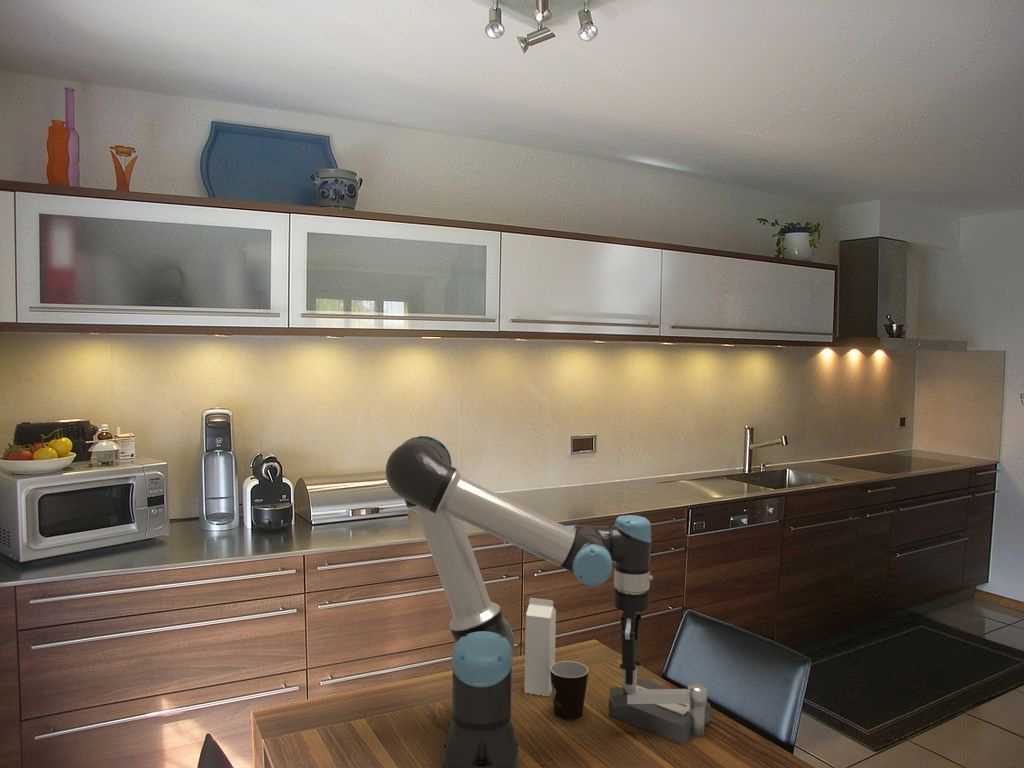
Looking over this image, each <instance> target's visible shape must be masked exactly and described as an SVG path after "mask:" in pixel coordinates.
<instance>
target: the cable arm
mask: <svg viewBox="0 0 1024 768" xmlns="http://www.w3.org/2000/svg"><path fill="white" fill-rule="evenodd" d="M609 697H610V700H611V703H612V705H613V707H624V706H627V704H690V703H691V704H694V705H705V704H706V703H708V687H707V685H705V684H704V683H700V682H690V683H689V684H687V688H668V689H627V690H625V689H624V687H623V686H622V687H621V686H620V687H618V686H616V687H611V686H610V687H609Z"/></svg>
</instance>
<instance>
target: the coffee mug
mask: <svg viewBox="0 0 1024 768" xmlns="http://www.w3.org/2000/svg"><path fill="white" fill-rule="evenodd" d="M550 674H551V685H552V691H551V693H552V694H551V695H552V704H553V705H552V706H553V712H554V715H555V716H556V717H557V718H558V719H562V720H565V721H574V720H578V719H580V718H582V716H583V713H584V707H585V700H586V691H587V683H588V677H589V668H588V666H587V665H585V664H583V663H581V662H577V661H574V660H573V661H572V660H562V661H557V662H556V661H555V663H554V664H552V665H551V667H550Z"/></svg>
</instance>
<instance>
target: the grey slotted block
mask: <svg viewBox="0 0 1024 768" xmlns="http://www.w3.org/2000/svg"><path fill="white" fill-rule="evenodd" d="M636 689H669V688H667V687H665V686H662V685H659V684H656V683H654V682H651V681H648V680H645V679H642V678H637V683H636ZM608 716H609V717H612V718H614V719H617V720H620V721H622V722H625V723H626V724H629V725H632V726H634V727H637V728H639V729H642V730H644V731H647V732H648V733H651V734H654V735H657V736H659V737H661V738H664V739H665V740H668V739H669V741H671V742H674V743H676V744H679V745H684V744H685V743H686V742H687V741H688V740H690V739H691V738H692V737H696V736H701V737H703V736H704V735H705V726H706V725H707V724H709V723H710V722H711V703H709V702H707V703H706V704H705V705H694V704H691V703H690V704H627V706H624V707H613V705H612V703H611V700H610V696H609V697H608ZM708 722H709V723H708ZM692 735H694V736H692ZM702 735H703V736H702ZM691 736H692V737H691ZM690 737H691V738H690Z"/></svg>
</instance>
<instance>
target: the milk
mask: <svg viewBox="0 0 1024 768" xmlns="http://www.w3.org/2000/svg"><path fill="white" fill-rule="evenodd" d="M528 599H529V600H528V603H529V604H528V607H527V610H526V613H525V641H524V642H525V645H524V647H525V648H524V651H525V652H524V653H525V654H524V694H527V693H529V695H533V694H535V696H540V695H542V696H541V697H546V696H548V697H547V698H549V697H550V695H551V693H552V685H551V674H550V667H551V665H552V664H554V663H556V631H557V629H556V624H557V623H556V621H557V620H556V619H557V609H556V608H555V607H554V600H551V599H545V598H543V599H542V598H533V597H530V598H528Z"/></svg>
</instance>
